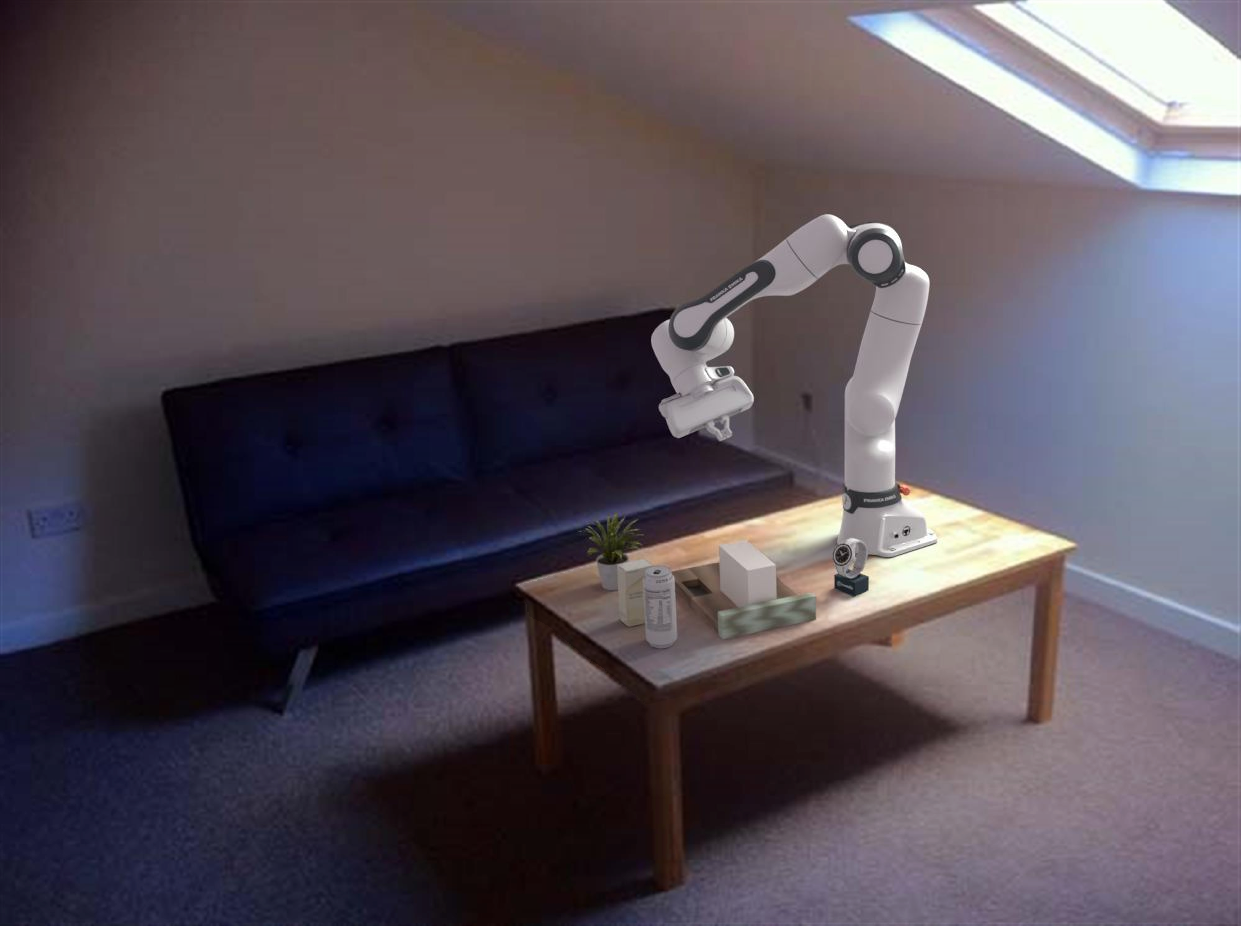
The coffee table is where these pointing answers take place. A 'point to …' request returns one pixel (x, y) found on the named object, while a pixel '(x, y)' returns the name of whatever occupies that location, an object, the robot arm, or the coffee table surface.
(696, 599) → the wooden tray
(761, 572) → the block
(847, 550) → the watch
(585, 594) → the coffee table surface
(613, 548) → the house plant
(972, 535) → the coffee table surface
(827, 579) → the coffee table surface
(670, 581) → the energy drink can
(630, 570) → the skincare box
